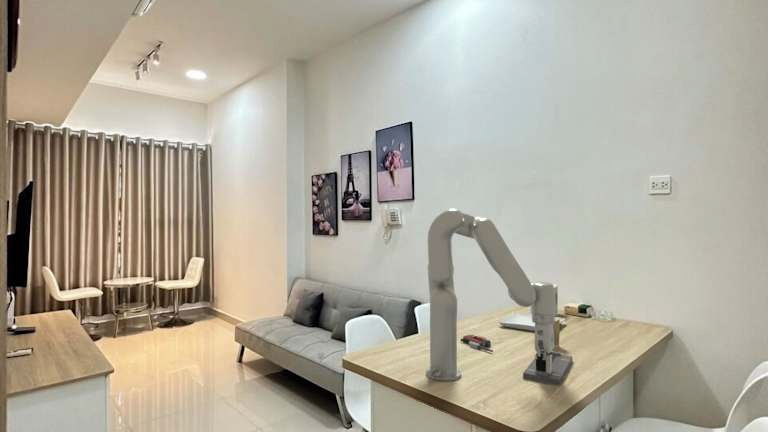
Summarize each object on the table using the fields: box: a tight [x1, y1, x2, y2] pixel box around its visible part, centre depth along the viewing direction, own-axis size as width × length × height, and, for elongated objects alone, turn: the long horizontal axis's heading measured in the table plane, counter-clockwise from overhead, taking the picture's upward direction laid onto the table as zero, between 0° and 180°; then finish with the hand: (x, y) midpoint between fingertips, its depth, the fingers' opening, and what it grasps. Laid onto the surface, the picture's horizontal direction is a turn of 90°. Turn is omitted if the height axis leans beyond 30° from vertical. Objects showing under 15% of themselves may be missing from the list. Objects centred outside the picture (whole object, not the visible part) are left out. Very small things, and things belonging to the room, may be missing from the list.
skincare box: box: [553, 319, 561, 350], centre depth 180 cm, size 6×4×12 cm
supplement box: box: [530, 283, 559, 317], centre depth 240 cm, size 13×13×18 cm
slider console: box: [522, 350, 573, 387], centre depth 152 cm, size 28×12×3 cm, turn 147°
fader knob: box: [534, 353, 552, 374], centre depth 144 cm, size 3×5×6 cm, turn 57°
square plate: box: [498, 311, 566, 332], centre depth 215 cm, size 27×27×4 cm
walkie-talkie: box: [460, 334, 494, 353], centre depth 180 cm, size 9×4×20 cm
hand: (544, 366), depth 143 cm, fingers open, 9 cm apart
